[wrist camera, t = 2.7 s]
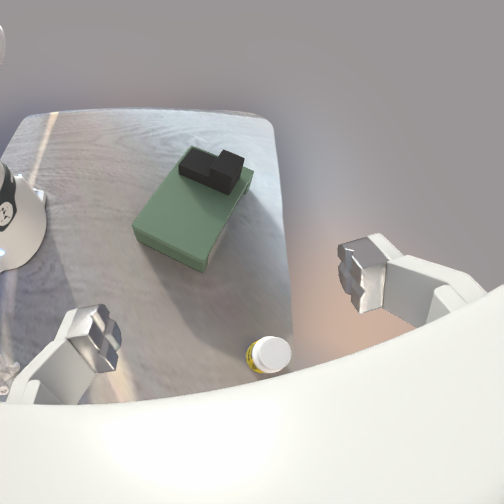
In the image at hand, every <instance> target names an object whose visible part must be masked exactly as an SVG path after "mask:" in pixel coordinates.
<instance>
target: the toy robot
mask: <svg viewBox="0 0 504 504" xmlns="http://www.w3.org/2000/svg"><path fill="white" fill-rule="evenodd" d="M18 370H20V364H19V363H18V362H15V363H14V365H11V366H10V365H8V364H6V363H5V361H4V360H3V358H2V356H1V355H0V395H6V394H7V393H8V392H9V387H8V385H7V384H6V381H7V379H8V378H10V377H13V376H14V375H15V374H14V373H15V372H17V371H18Z"/></svg>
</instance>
